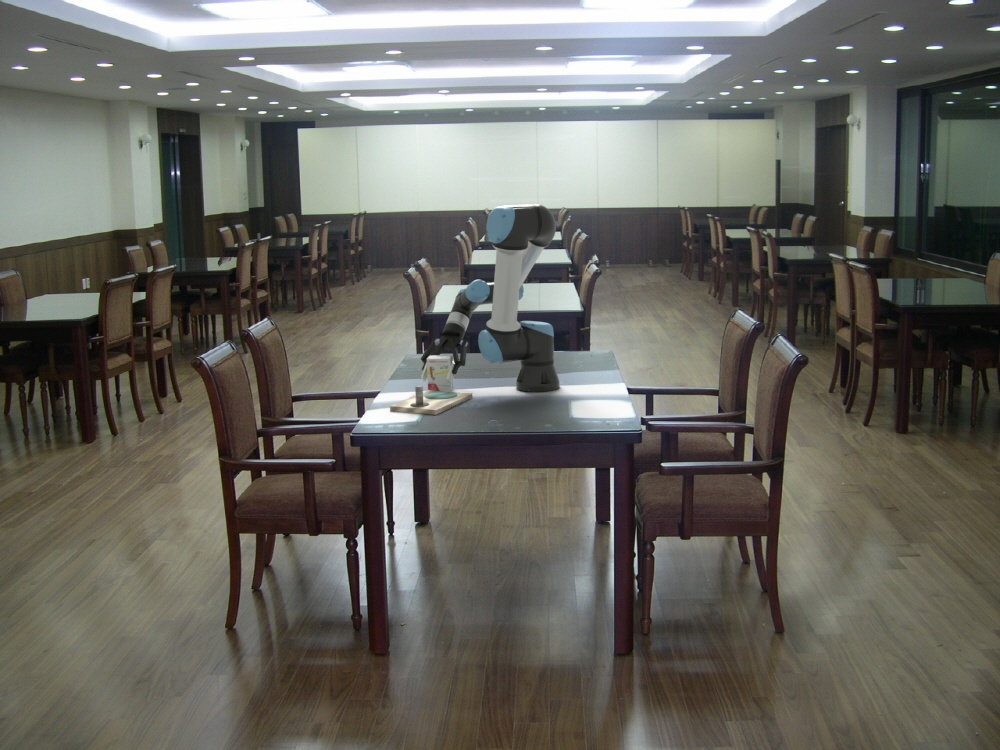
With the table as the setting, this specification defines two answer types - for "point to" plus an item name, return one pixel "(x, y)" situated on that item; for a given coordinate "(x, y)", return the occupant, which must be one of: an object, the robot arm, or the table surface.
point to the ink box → (439, 372)
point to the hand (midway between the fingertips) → (435, 380)
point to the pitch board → (430, 401)
